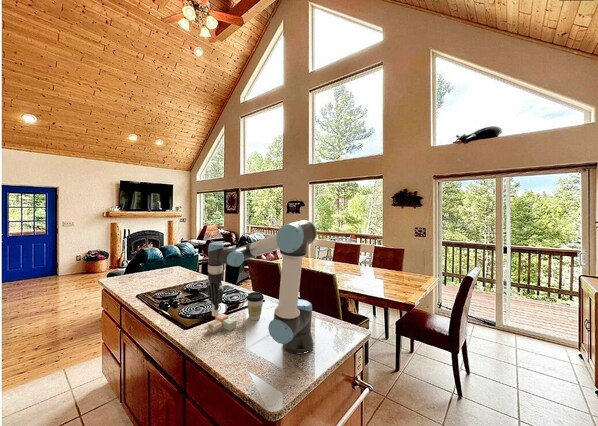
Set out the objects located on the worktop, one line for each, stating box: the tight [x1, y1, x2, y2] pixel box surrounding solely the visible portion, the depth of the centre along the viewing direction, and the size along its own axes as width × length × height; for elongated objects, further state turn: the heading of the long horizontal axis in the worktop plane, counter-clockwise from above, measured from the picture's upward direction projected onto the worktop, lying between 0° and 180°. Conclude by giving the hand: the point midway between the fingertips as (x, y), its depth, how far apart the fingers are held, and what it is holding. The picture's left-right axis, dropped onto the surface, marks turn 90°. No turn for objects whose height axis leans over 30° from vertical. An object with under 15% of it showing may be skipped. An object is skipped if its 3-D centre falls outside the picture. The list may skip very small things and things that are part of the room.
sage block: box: [223, 316, 238, 332], centre depth 156 cm, size 5×5×4 cm
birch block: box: [207, 320, 222, 335], centre depth 152 cm, size 5×5×4 cm
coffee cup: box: [246, 291, 265, 321], centre depth 167 cm, size 10×10×15 cm
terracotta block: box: [214, 312, 229, 325], centre depth 160 cm, size 5×5×4 cm
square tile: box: [204, 325, 229, 337], centre depth 155 cm, size 12×12×1 cm
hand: (214, 314), depth 151 cm, fingers closed
